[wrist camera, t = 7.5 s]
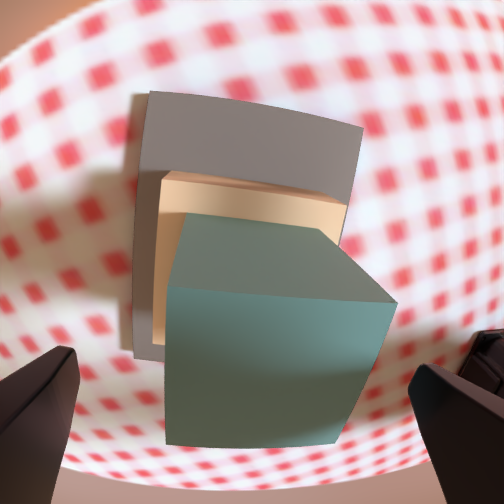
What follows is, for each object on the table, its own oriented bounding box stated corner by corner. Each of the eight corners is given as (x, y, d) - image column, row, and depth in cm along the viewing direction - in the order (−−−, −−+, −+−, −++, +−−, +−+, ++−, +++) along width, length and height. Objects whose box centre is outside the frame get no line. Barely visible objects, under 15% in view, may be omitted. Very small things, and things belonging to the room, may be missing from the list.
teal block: (318, 228, 12) (398, 303, 7) (292, 337, 14) (334, 443, 8) (187, 212, 12) (167, 285, 6) (177, 329, 13) (166, 444, 8)
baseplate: (358, 128, 15) (363, 128, 14) (300, 364, 19) (303, 370, 19) (152, 92, 13) (149, 90, 12) (135, 352, 18) (133, 358, 17)
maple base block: (322, 192, 15) (347, 205, 12) (292, 320, 17) (307, 354, 14) (171, 170, 14) (161, 179, 11) (160, 309, 16) (152, 343, 13)
